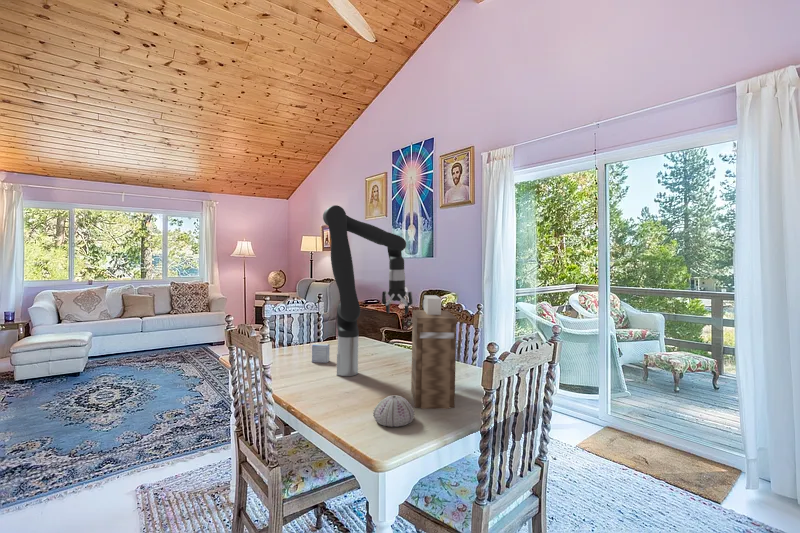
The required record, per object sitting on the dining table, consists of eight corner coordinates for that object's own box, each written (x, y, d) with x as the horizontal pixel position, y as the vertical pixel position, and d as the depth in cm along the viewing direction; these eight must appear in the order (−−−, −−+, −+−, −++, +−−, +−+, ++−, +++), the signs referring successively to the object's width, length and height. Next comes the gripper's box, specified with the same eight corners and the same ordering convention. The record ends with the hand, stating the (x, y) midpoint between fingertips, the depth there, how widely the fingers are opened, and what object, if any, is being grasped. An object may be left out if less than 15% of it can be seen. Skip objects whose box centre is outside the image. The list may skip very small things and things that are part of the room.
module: (427, 314, 146) (427, 298, 146) (421, 307, 167) (421, 293, 166) (440, 314, 146) (441, 298, 146) (433, 307, 167) (433, 293, 167)
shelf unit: (415, 409, 138) (417, 318, 137) (410, 389, 158) (412, 310, 157) (455, 409, 138) (457, 318, 138) (445, 389, 159) (447, 310, 158)
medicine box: (329, 360, 199) (329, 343, 199) (327, 363, 194) (327, 345, 194) (314, 360, 200) (314, 343, 199) (311, 362, 195) (311, 345, 195)
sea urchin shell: (416, 429, 122) (417, 404, 122) (373, 430, 121) (373, 404, 121) (412, 412, 135) (412, 389, 135) (372, 413, 134) (372, 389, 134)
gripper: (380, 279, 183) (380, 314, 184) (410, 280, 180) (410, 315, 180) (384, 278, 190) (384, 311, 191) (413, 278, 187) (413, 312, 188)
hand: (397, 313), depth 186 cm, fingers open, 8 cm apart
